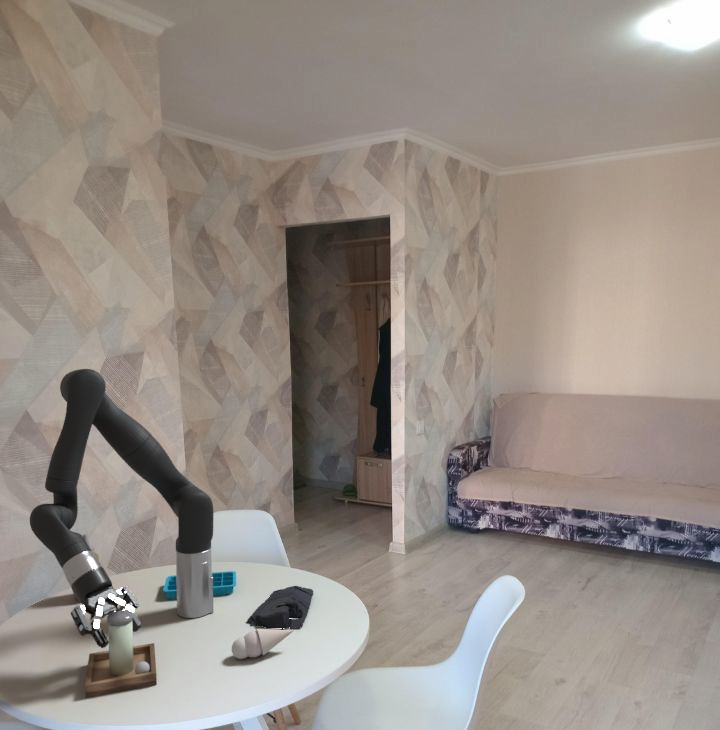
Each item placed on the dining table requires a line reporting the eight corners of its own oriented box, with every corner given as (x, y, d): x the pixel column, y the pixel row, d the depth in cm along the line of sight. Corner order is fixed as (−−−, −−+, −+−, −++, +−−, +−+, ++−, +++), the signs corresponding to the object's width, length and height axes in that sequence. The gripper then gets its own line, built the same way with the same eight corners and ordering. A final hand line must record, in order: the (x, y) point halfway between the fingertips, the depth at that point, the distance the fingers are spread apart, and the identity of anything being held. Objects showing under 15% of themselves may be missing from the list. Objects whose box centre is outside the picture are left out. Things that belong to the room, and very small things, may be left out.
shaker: (134, 661, 143) (132, 608, 143) (134, 673, 138) (132, 618, 138) (109, 666, 142) (107, 612, 141) (108, 677, 137) (106, 622, 136)
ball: (149, 671, 139) (149, 657, 139) (149, 678, 136) (149, 664, 136) (135, 673, 138) (134, 660, 138) (135, 680, 135) (134, 667, 135)
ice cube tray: (167, 585, 189) (167, 576, 189) (236, 580, 193) (236, 570, 193) (162, 602, 178) (162, 591, 178) (236, 596, 182) (236, 585, 182)
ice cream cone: (298, 648, 151) (235, 669, 146) (290, 624, 155) (229, 644, 150) (298, 636, 147) (234, 658, 142) (291, 612, 151) (228, 633, 146)
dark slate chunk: (322, 597, 181) (322, 581, 181) (300, 633, 159) (299, 615, 159) (271, 593, 184) (271, 577, 184) (242, 628, 162) (242, 610, 162)
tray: (154, 653, 149) (154, 643, 149) (156, 684, 136) (156, 673, 136) (89, 664, 144) (89, 653, 144) (85, 697, 131) (85, 685, 131)
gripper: (65, 577, 137) (102, 642, 132) (120, 557, 149) (155, 615, 144) (51, 596, 140) (86, 660, 135) (105, 575, 152) (140, 633, 147)
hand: (122, 637), depth 139 cm, fingers open, 8 cm apart
